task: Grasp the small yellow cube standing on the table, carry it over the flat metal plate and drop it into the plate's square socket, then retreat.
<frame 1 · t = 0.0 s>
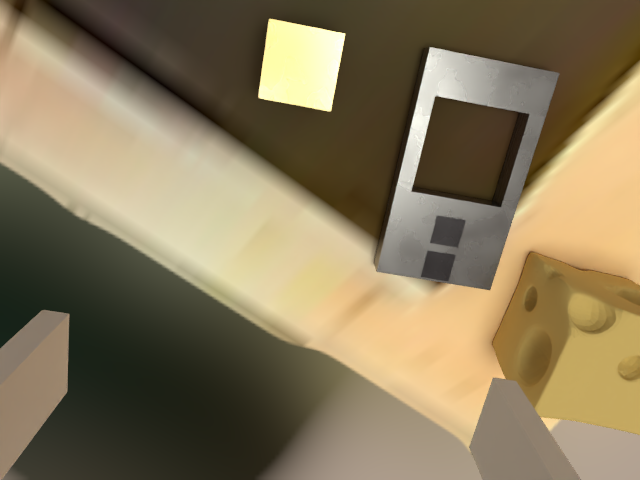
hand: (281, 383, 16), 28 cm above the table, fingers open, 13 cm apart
cheese: (557, 312, 47), on the table
metal plate: (455, 173, 42), on the table
yellow cube: (301, 66, 39), on the table
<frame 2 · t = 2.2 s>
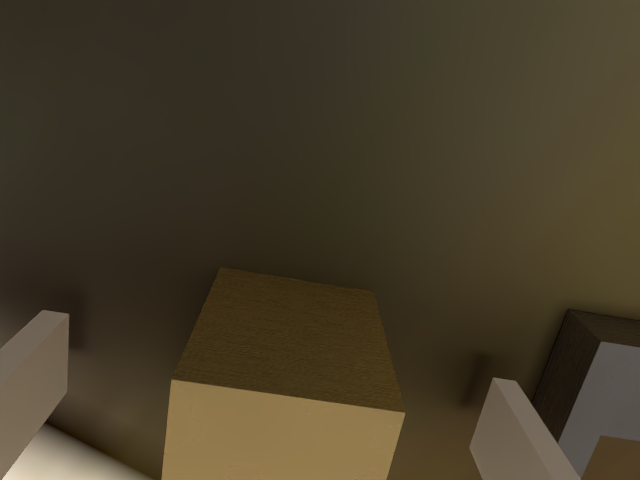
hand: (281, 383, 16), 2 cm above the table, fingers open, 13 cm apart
yellow cube: (285, 345, 17), on the table
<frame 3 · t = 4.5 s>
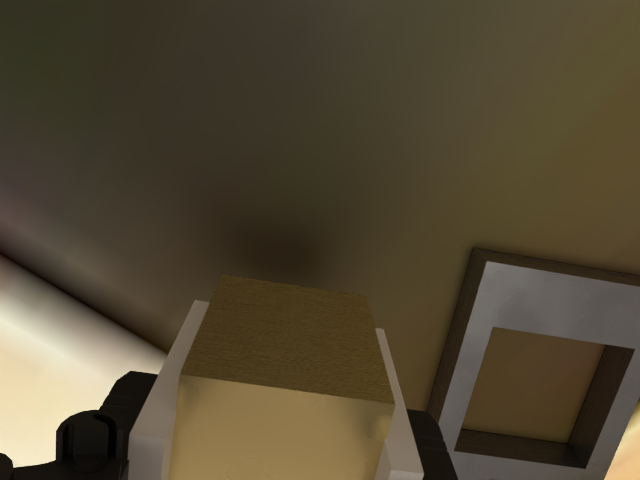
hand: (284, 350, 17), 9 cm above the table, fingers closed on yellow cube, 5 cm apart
metal plate: (515, 410, 29), on the table
yellow cube: (283, 349, 18), point 8 cm above the table, touching gripper
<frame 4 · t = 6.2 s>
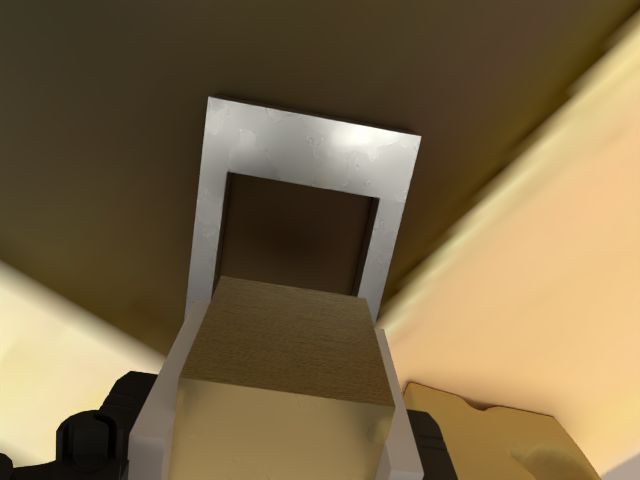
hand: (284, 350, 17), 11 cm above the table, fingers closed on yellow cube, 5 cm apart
cheese: (457, 458, 33), on the table
metal plate: (287, 276, 28), on the table
yellow cube: (283, 351, 18), point 10 cm above the table, touching gripper
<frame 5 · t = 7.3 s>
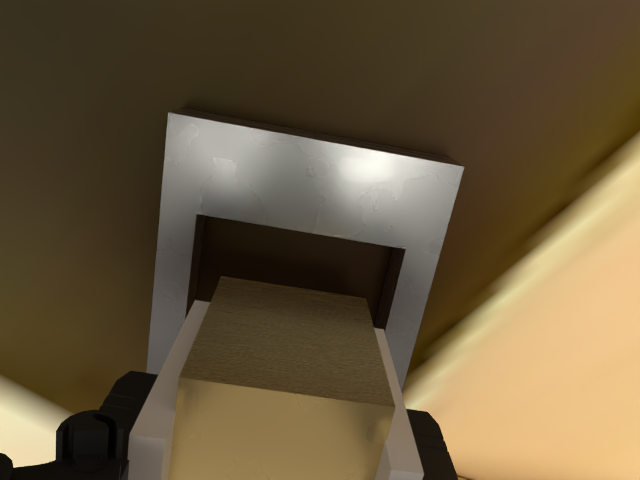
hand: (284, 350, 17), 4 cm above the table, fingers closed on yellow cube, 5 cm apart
metal plate: (280, 343, 22), on the table
yellow cube: (283, 351, 18), point 3 cm above the table, touching gripper
when the fingers open (3 cm above the table, at t = 8.1 s): yellow cube drops 3 cm, resting in metal plate.
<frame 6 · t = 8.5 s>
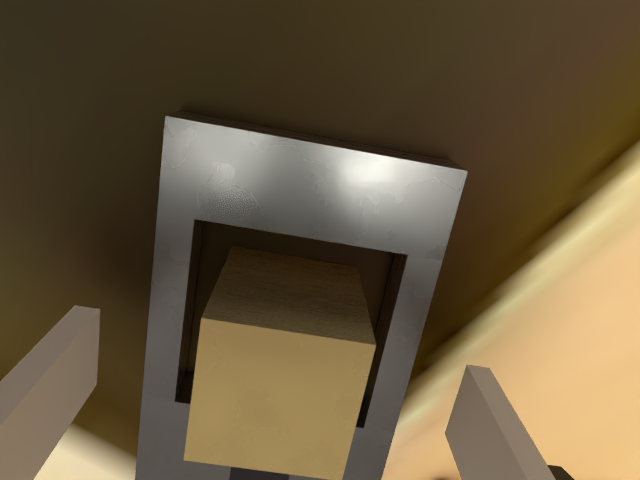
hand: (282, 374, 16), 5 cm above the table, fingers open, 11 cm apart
metal plate: (280, 349, 21), on the table
yellow cube: (285, 312, 21), resting in metal plate
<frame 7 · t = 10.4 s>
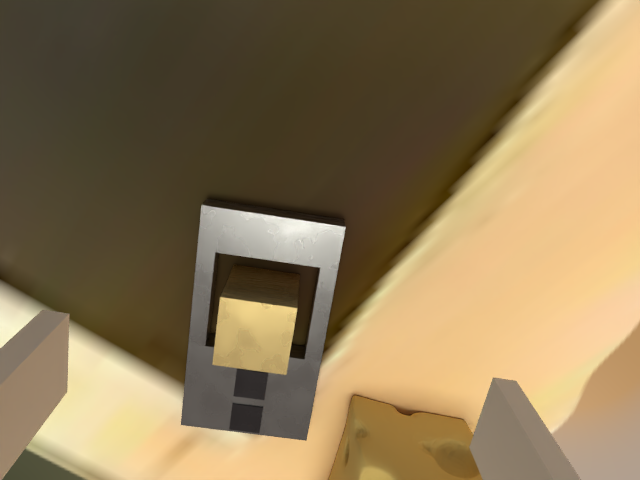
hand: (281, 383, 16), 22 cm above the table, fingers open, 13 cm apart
cheese: (394, 452, 44), on the table
metal plate: (260, 319, 39), on the table
yellow cube: (262, 299, 39), resting in metal plate
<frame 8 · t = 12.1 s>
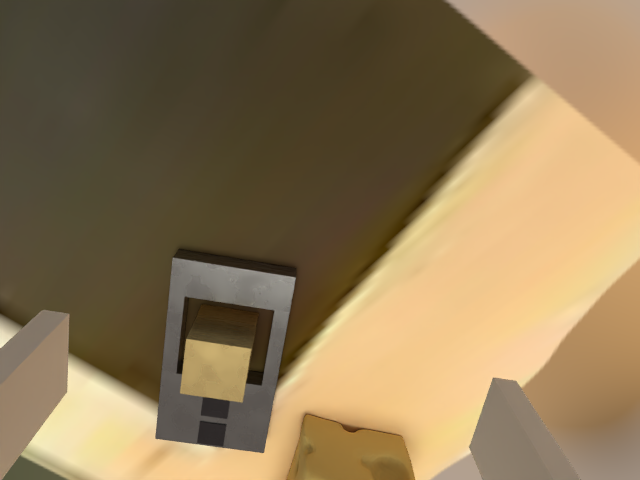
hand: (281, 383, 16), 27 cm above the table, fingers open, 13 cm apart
cheese: (342, 462, 50), on the table
metal plate: (225, 350, 46), on the table
yellow cube: (227, 332, 45), resting in metal plate
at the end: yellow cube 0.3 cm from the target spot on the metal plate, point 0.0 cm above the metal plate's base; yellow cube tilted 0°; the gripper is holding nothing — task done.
